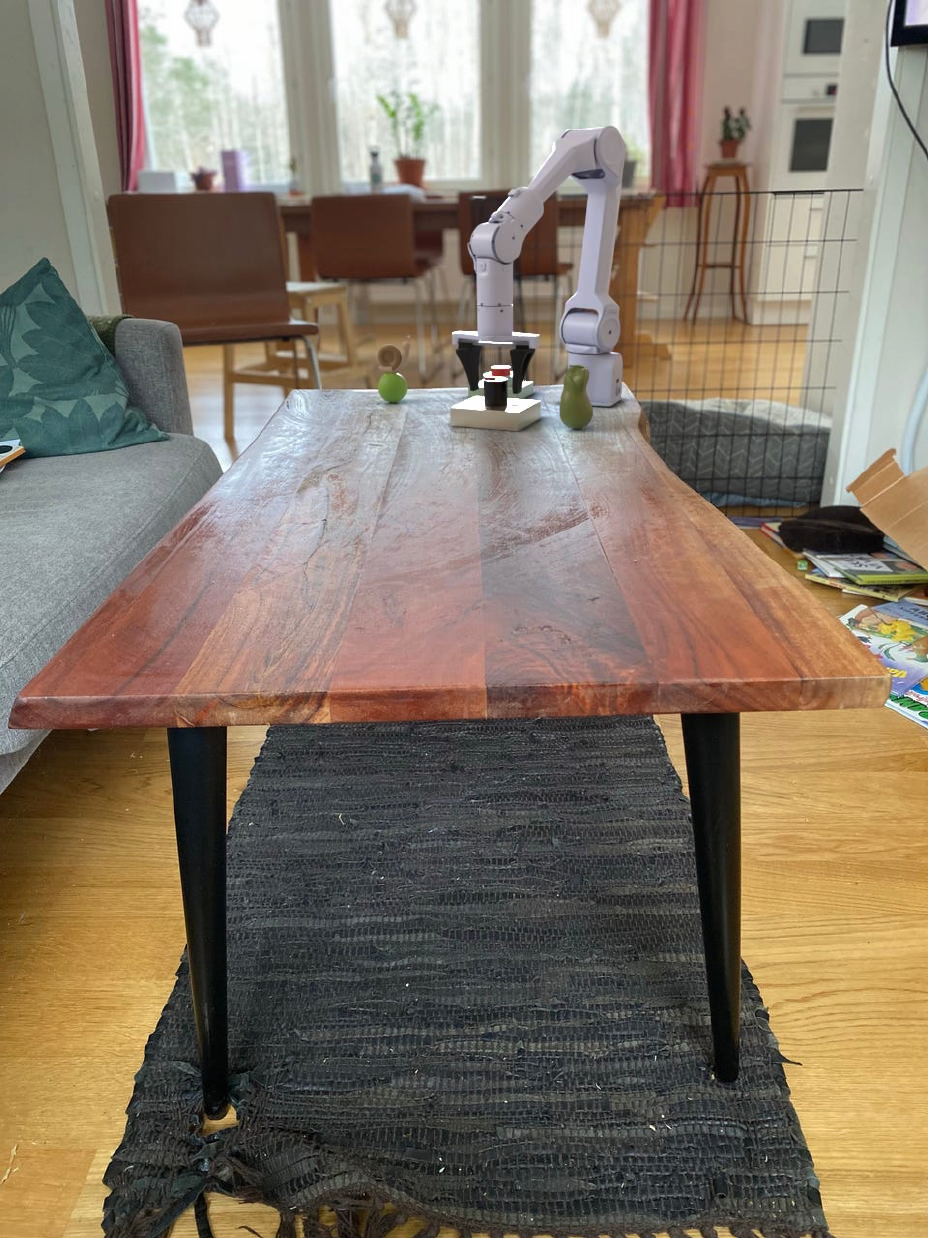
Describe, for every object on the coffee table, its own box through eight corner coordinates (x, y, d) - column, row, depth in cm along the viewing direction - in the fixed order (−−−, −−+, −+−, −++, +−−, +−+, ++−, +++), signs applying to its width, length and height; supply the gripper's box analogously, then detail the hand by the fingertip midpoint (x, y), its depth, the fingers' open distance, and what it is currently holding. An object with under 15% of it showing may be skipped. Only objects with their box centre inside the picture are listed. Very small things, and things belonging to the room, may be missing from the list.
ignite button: (513, 375, 176) (513, 365, 175) (506, 378, 173) (506, 368, 172) (495, 374, 177) (495, 364, 176) (488, 377, 174) (488, 367, 173)
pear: (563, 423, 154) (564, 361, 149) (595, 425, 152) (597, 362, 148) (555, 431, 149) (557, 367, 145) (588, 432, 147) (590, 368, 143)
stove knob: (511, 402, 156) (511, 375, 154) (502, 406, 152) (502, 379, 150) (489, 400, 157) (489, 374, 155) (479, 405, 154) (479, 378, 152)
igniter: (533, 393, 178) (533, 371, 176) (517, 401, 171) (517, 379, 169) (485, 390, 182) (485, 369, 180) (468, 397, 175) (467, 376, 173)
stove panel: (540, 418, 158) (540, 399, 156) (518, 431, 149) (518, 411, 148) (475, 413, 162) (475, 395, 161) (450, 425, 154) (450, 406, 153)
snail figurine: (409, 405, 170) (405, 337, 165) (375, 404, 171) (371, 337, 166) (416, 399, 175) (413, 333, 170) (383, 399, 176) (379, 332, 171)
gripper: (442, 306, 148) (445, 392, 153) (528, 308, 142) (527, 398, 148) (461, 301, 154) (463, 385, 159) (544, 303, 148) (543, 390, 153)
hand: (495, 391), depth 154 cm, fingers open, 7 cm apart
